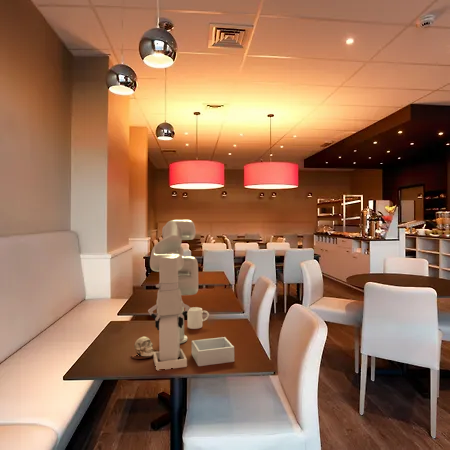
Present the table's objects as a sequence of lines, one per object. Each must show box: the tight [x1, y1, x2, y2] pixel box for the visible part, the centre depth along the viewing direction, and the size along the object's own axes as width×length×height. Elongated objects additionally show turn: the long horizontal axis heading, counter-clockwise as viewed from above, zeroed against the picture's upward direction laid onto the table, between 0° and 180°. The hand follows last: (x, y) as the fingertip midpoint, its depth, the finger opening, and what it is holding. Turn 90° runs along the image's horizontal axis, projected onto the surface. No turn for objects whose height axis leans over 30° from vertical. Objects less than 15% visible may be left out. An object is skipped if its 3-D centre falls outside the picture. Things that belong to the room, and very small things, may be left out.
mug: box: [186, 306, 210, 330], centre depth 193 cm, size 8×12×10 cm
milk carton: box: [158, 314, 181, 362], centre depth 144 cm, size 7×7×19 cm
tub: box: [191, 336, 235, 367], centre depth 149 cm, size 13×15×6 cm
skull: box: [131, 336, 158, 360], centre depth 153 cm, size 12×10×10 cm
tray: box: [153, 348, 188, 371], centre depth 144 cm, size 12×12×3 cm
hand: (169, 328), depth 144 cm, fingers closed on milk carton, 8 cm apart
